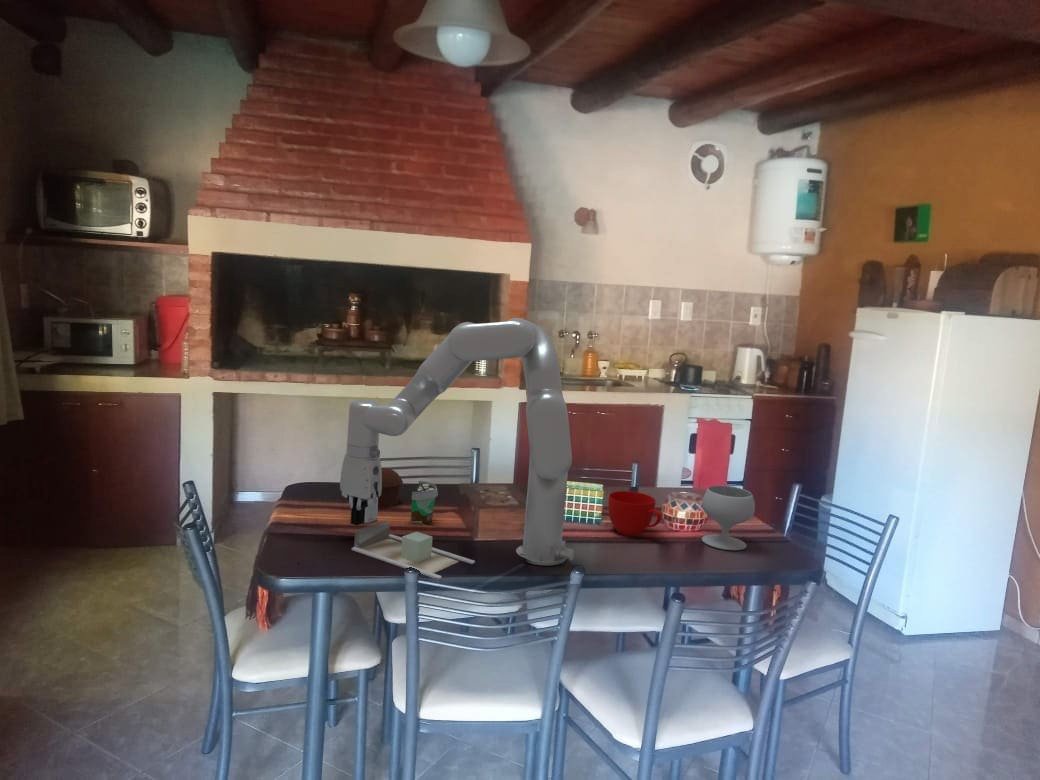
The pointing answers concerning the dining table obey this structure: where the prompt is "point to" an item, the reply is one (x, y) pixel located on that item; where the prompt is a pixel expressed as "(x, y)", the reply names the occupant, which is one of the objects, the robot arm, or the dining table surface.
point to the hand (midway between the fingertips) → (357, 523)
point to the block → (416, 547)
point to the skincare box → (371, 513)
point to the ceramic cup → (632, 512)
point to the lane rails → (409, 565)
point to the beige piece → (395, 548)
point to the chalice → (727, 514)
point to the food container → (423, 503)
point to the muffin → (389, 488)
